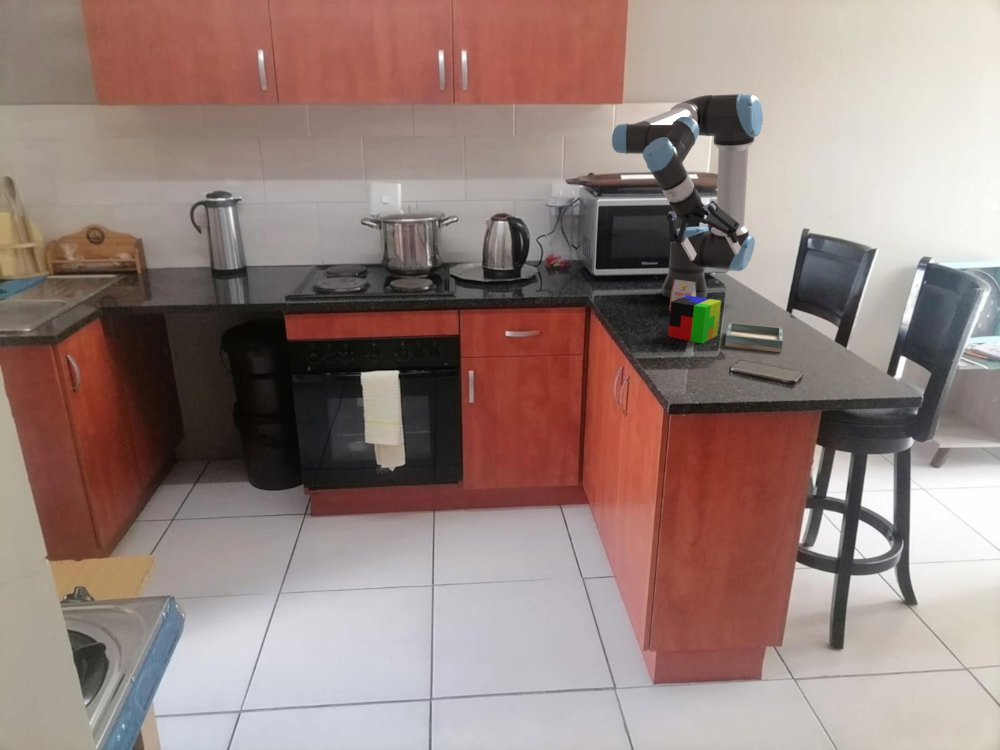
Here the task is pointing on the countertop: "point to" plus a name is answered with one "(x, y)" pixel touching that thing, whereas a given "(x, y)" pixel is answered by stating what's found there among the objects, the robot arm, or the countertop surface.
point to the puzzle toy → (694, 318)
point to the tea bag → (682, 290)
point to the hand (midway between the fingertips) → (715, 254)
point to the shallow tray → (754, 337)
